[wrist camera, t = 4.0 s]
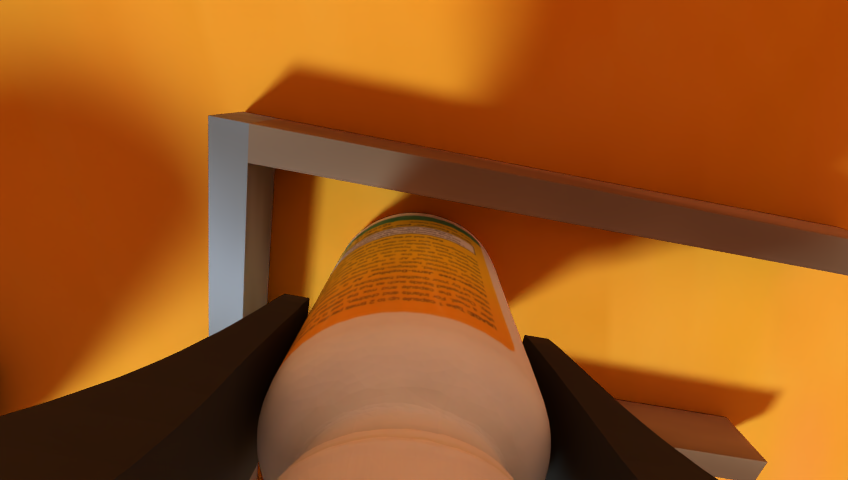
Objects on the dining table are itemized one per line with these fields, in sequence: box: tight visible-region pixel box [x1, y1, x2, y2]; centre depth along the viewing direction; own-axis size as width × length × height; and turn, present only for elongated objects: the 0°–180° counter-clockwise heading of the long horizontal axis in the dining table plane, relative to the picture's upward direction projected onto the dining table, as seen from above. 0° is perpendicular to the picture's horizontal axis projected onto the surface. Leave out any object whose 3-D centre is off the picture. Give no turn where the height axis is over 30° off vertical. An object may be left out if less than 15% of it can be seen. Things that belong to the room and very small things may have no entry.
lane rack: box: [208, 112, 848, 480], centre depth 14 cm, size 17×19×2 cm
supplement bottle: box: [257, 213, 551, 480], centre depth 9 cm, size 5×5×10 cm
